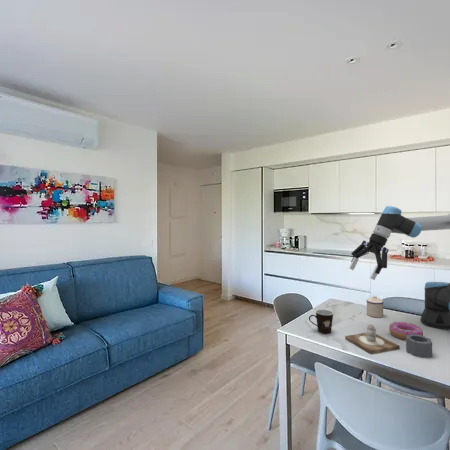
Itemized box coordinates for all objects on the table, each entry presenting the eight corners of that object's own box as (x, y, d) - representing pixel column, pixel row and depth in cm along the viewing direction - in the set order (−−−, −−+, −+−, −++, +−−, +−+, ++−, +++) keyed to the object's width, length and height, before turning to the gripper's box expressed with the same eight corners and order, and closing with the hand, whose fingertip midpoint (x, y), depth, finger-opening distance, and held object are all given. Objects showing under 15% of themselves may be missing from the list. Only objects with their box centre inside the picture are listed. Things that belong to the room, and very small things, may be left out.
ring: (417, 346, 130) (417, 333, 130) (436, 355, 121) (436, 341, 121) (401, 349, 127) (401, 336, 127) (420, 358, 119) (420, 344, 118)
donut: (407, 344, 133) (407, 333, 132) (382, 332, 146) (382, 322, 146) (430, 340, 136) (430, 329, 136) (404, 328, 150) (404, 319, 150)
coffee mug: (333, 329, 150) (333, 310, 150) (332, 335, 142) (332, 316, 142) (311, 326, 155) (311, 308, 155) (308, 332, 147) (308, 313, 147)
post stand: (372, 334, 143) (372, 317, 143) (399, 348, 128) (399, 329, 127) (345, 339, 138) (345, 321, 138) (370, 354, 123) (370, 334, 123)
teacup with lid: (386, 317, 166) (387, 298, 166) (372, 318, 165) (372, 298, 165) (374, 310, 178) (374, 292, 177) (360, 311, 177) (360, 293, 177)
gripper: (356, 227, 152) (338, 263, 153) (397, 239, 129) (376, 281, 130) (365, 232, 155) (348, 267, 156) (407, 245, 132) (387, 286, 133)
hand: (361, 274), depth 143 cm, fingers open, 13 cm apart
